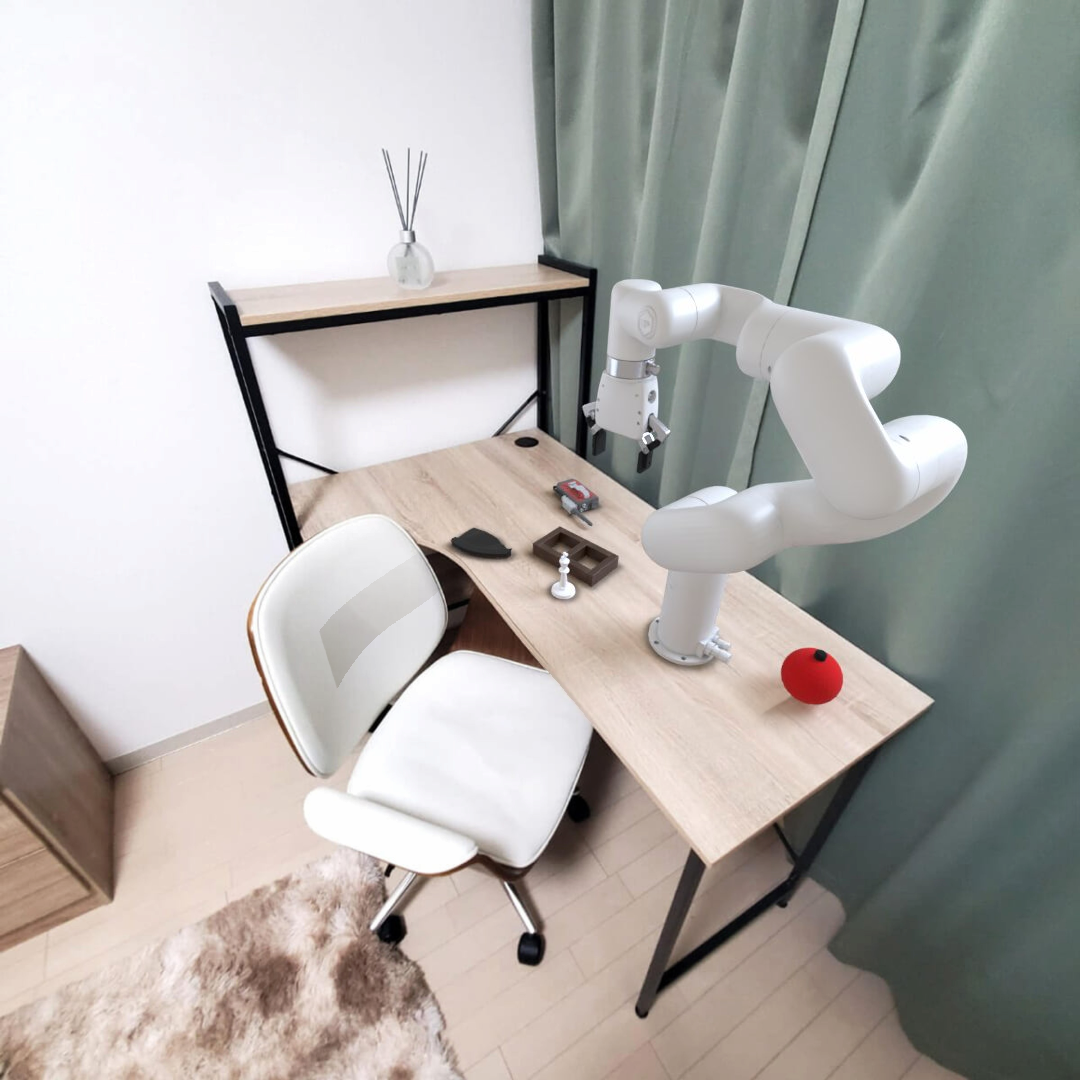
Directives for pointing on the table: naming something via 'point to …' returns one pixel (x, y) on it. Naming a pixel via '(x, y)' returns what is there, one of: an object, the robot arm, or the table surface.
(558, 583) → the chess piece
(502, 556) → the curved wedge
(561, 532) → the rack
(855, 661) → the table surface
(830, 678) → the ornament
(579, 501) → the walkie-talkie
